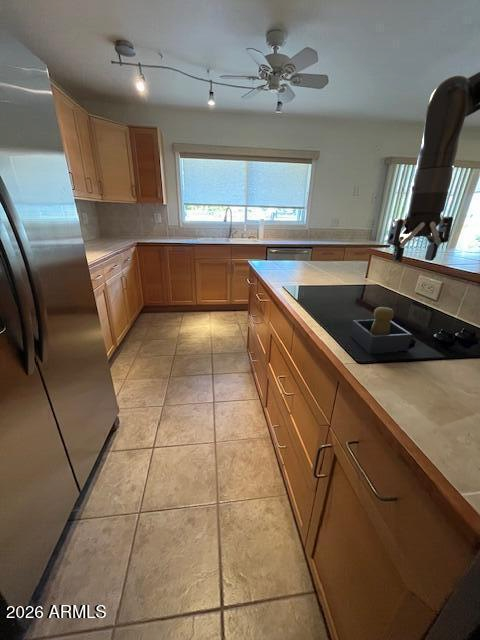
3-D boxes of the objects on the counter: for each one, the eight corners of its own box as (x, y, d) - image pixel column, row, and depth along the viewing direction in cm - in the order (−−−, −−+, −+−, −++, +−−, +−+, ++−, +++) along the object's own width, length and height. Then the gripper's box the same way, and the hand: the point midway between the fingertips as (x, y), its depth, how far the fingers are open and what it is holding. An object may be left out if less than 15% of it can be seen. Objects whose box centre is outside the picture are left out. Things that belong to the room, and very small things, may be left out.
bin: (383, 333, 86) (387, 318, 84) (407, 351, 76) (412, 334, 73) (350, 336, 85) (352, 320, 83) (369, 354, 75) (373, 337, 73)
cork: (362, 339, 82) (368, 306, 78) (378, 336, 84) (385, 303, 79) (377, 348, 77) (384, 313, 72) (393, 344, 78) (401, 310, 74)
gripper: (410, 191, 57) (395, 265, 63) (471, 188, 58) (451, 262, 64) (389, 193, 64) (378, 259, 70) (444, 190, 65) (428, 257, 71)
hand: (413, 261), depth 67 cm, fingers open, 8 cm apart
